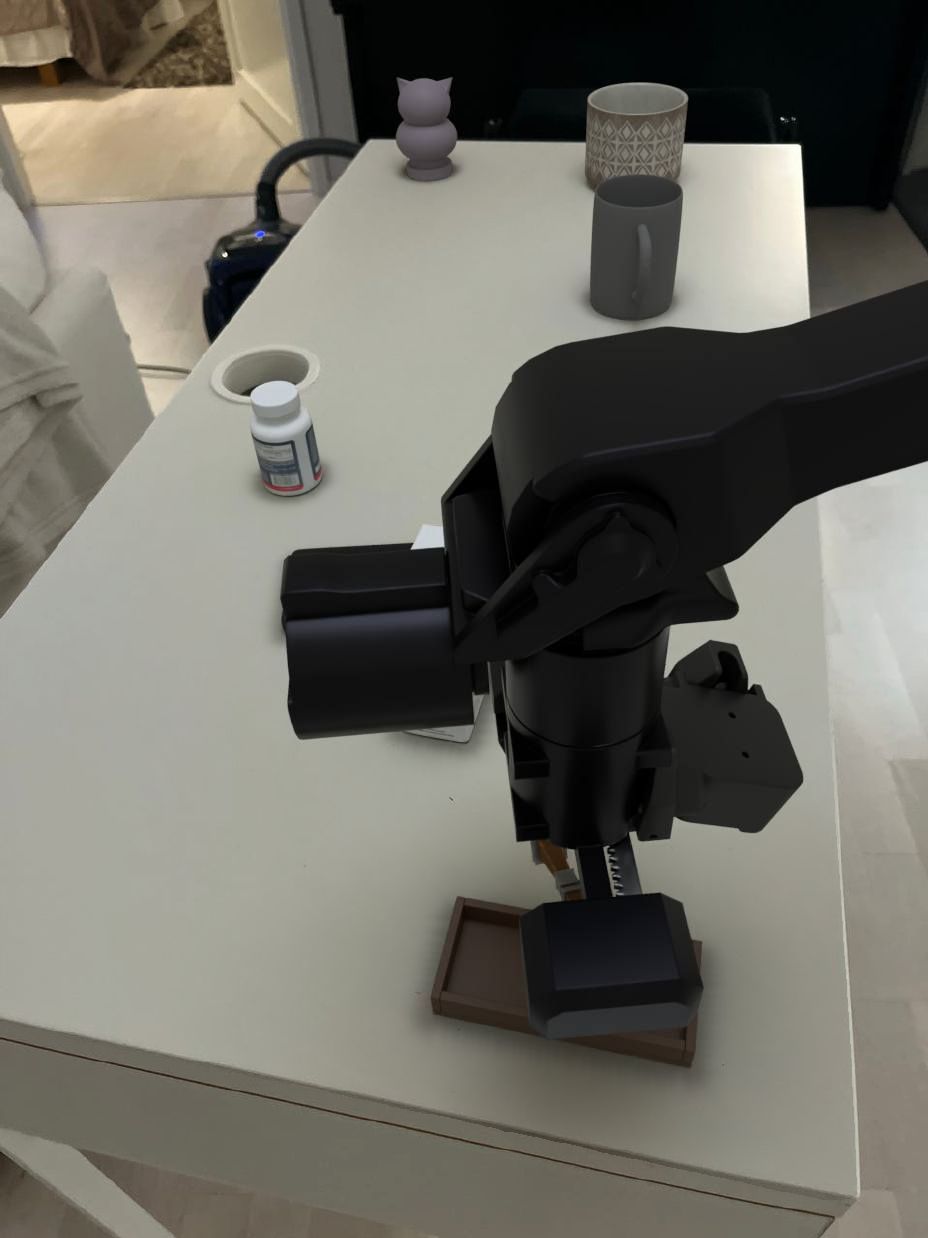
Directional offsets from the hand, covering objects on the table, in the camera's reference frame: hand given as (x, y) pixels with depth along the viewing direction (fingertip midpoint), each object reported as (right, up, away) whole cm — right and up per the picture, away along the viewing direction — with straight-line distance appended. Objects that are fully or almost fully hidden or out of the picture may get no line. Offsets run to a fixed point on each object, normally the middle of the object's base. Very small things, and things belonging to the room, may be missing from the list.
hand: (574, 904), depth 47 cm
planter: (+17, +73, +86) cm, 113 cm away
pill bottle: (-21, +26, +41) cm, 52 cm away
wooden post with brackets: (0, -1, +1) cm, 1 cm away
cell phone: (-10, +16, +29) cm, 35 cm away
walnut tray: (0, -6, +6) cm, 9 cm away
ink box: (-6, +8, +22) cm, 24 cm away
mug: (+13, +47, +60) cm, 77 cm away
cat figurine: (-10, +77, +92) cm, 120 cm away
